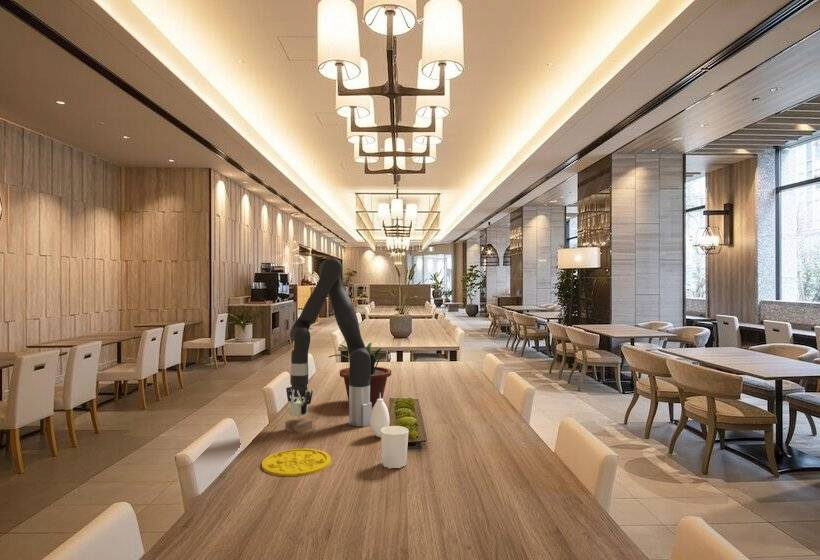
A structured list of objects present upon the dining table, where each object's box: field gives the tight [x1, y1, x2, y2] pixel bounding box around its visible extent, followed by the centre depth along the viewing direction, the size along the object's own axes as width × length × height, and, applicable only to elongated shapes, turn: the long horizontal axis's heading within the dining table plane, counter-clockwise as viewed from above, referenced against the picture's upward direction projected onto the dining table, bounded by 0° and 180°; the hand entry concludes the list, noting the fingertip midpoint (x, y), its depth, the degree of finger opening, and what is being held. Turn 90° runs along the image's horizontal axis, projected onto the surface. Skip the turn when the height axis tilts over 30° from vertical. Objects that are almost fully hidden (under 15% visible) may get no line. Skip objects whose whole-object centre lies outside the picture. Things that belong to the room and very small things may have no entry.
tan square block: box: [284, 416, 314, 434], centre depth 207 cm, size 8×8×4 cm
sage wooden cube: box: [289, 400, 308, 418], centre depth 207 cm, size 5×5×5 cm
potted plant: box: [328, 342, 392, 409], centre depth 249 cm, size 35×32×30 cm
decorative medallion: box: [261, 448, 332, 477], centre depth 169 cm, size 24×24×2 cm
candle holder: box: [380, 425, 410, 469], centre depth 168 cm, size 10×10×12 cm
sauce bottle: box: [369, 394, 390, 438], centre depth 198 cm, size 8×8×18 cm
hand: (298, 412), depth 207 cm, fingers closed on sage wooden cube, 5 cm apart
